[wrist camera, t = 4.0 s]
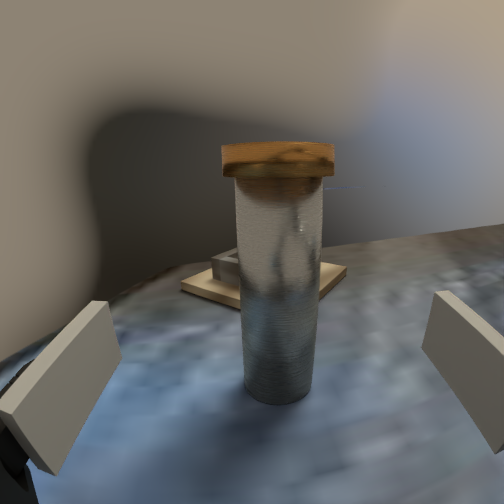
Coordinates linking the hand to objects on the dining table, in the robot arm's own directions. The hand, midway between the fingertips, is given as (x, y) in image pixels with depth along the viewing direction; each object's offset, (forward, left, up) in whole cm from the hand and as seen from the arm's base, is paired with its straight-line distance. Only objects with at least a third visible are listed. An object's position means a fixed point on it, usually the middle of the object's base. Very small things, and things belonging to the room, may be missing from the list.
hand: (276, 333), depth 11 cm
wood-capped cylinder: (+3, -5, -8) cm, 9 cm away
